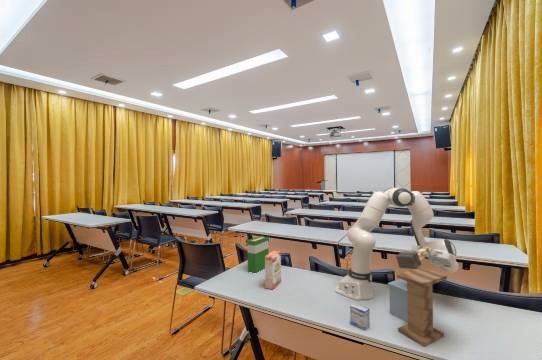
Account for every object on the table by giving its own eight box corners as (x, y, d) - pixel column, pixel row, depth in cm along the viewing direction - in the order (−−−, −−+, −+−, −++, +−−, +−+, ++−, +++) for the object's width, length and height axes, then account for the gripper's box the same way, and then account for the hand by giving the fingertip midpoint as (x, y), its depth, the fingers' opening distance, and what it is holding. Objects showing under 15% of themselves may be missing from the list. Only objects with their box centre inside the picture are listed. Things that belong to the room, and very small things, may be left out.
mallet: (420, 252, 140) (417, 241, 140) (436, 252, 133) (432, 241, 134) (399, 267, 126) (395, 256, 127) (415, 269, 120) (411, 256, 120)
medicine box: (349, 323, 122) (349, 305, 122) (354, 319, 125) (354, 302, 125) (365, 330, 116) (365, 311, 116) (370, 326, 119) (369, 308, 119)
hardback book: (261, 265, 206) (260, 235, 206) (269, 266, 202) (268, 236, 202) (247, 272, 192) (247, 240, 191) (255, 274, 188) (254, 241, 187)
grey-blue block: (409, 304, 138) (409, 276, 138) (430, 314, 128) (429, 283, 128) (388, 312, 130) (387, 282, 130) (408, 323, 120) (407, 291, 120)
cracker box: (273, 290, 160) (272, 257, 160) (264, 288, 163) (264, 256, 162) (281, 281, 173) (281, 251, 173) (273, 280, 175) (273, 250, 175)
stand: (421, 320, 122) (420, 267, 122) (448, 334, 112) (446, 275, 112) (397, 331, 115) (396, 274, 115) (424, 346, 104) (422, 283, 104)
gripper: (421, 247, 150) (407, 238, 145) (459, 257, 132) (445, 247, 127) (417, 257, 149) (404, 249, 143) (456, 268, 131) (442, 259, 125)
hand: (424, 248), depth 135 cm, fingers closed on mallet, 3 cm apart
